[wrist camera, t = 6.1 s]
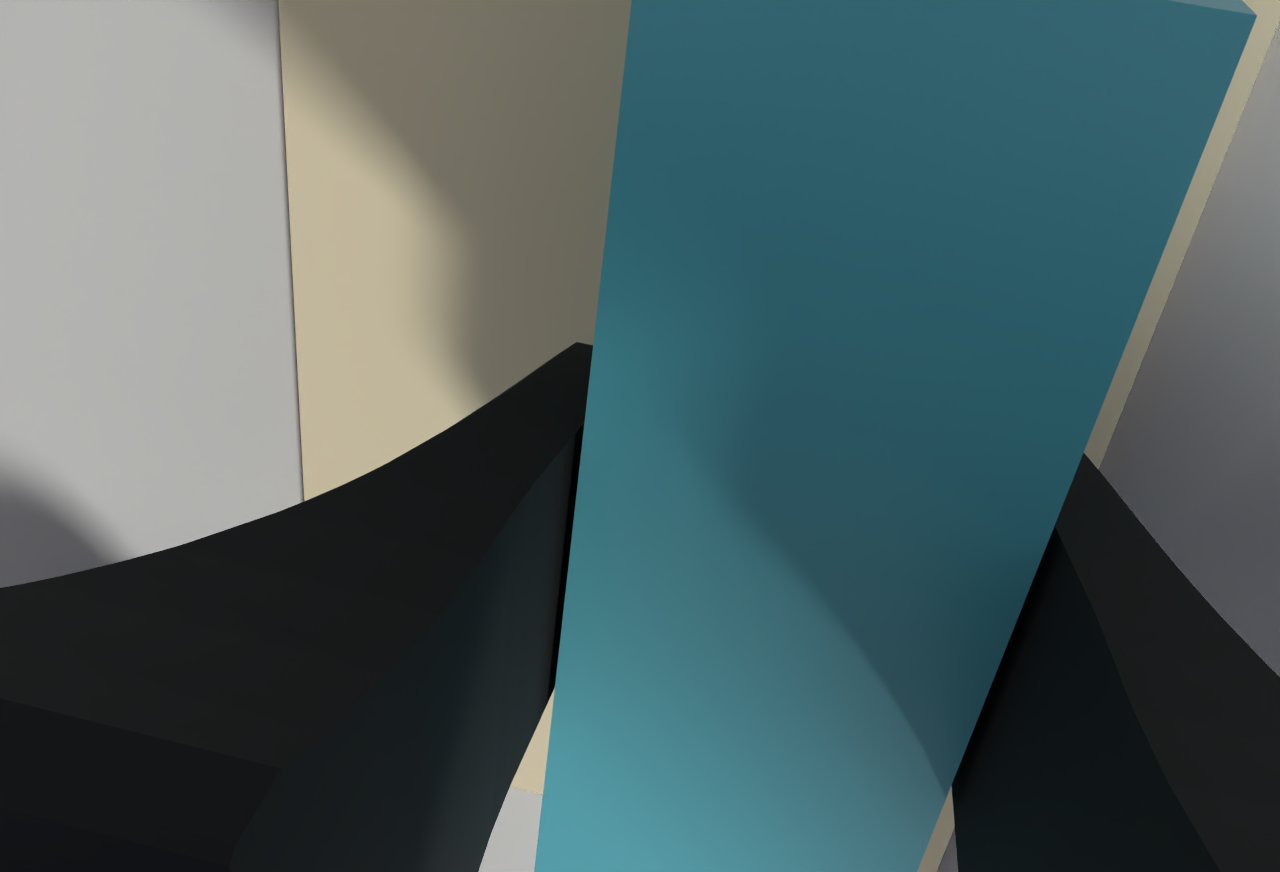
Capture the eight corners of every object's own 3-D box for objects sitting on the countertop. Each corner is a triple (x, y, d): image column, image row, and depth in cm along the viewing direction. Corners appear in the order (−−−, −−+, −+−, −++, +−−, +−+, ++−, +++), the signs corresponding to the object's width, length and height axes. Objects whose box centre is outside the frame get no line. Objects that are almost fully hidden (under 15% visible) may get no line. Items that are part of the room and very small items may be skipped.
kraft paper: (1283, -9, 10) (1288, -4, 10) (929, 876, 17) (929, 889, 16) (279, -169, 11) (269, -166, 11) (322, 729, 18) (316, 739, 17)
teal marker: (1144, -97, 10) (1256, 16, 6) (853, 788, 16) (833, 1082, 12) (736, -162, 10) (640, -88, 7) (604, 727, 16) (520, 998, 13)
